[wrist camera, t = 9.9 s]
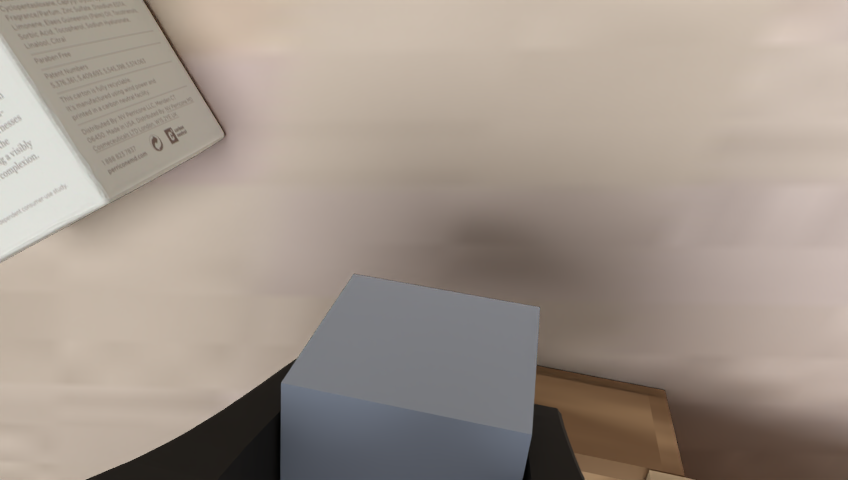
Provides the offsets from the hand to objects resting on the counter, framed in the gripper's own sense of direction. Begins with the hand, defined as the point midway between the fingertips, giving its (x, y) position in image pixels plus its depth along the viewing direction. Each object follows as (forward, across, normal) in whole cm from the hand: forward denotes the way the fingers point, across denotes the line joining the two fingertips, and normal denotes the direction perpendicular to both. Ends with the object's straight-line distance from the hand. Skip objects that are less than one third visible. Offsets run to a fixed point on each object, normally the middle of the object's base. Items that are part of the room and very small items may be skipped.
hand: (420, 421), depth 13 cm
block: (+2, 0, 0) cm, 2 cm away
